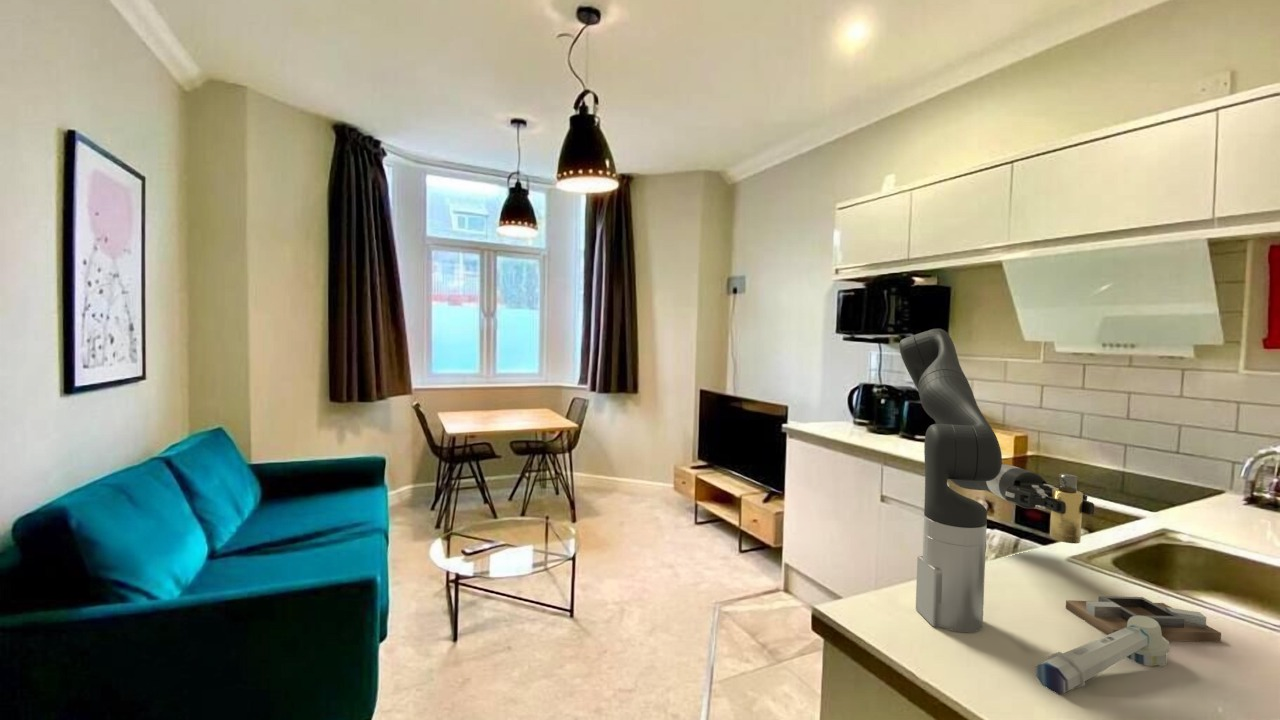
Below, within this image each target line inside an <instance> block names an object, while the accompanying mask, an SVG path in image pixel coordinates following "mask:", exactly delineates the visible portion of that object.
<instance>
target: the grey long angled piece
mask: <svg viewBox="0 0 1280 720" xmlns="http://www.w3.org/2000/svg"><path fill="white" fill-rule="evenodd" d="M1170 646H1171V645H1170V641H1169V640H1166V639H1165V638H1164V637H1163V636H1162V633H1161V627H1160V625H1159V623H1158V622H1157V621H1156V620H1154V619H1152V618H1149V617H1146V616H1132V617H1131V618H1129V620H1128V622H1127V627H1126V628H1124V629H1121V630H1119V631H1116V632H1114V633H1111V634H1109V635H1104V636H1102V637H1100V638H1097V639H1094V640H1091V641H1090V642H1087V643H1085V644H1083V645H1080V646H1077V647H1075V648H1072V649H1070V650H1068V651H1065V652H1062V651H1058V652H1054V653H1053V654H1050V655H1048V659H1047V660H1045V661H1044V662H1041V663H1039V664H1037V665H1036V666H1035V677H1036V678H1037V680H1038V681H1039V682H1040V684H1041V685H1042V686H1043V687H1045V688H1046V687H1047V689H1048V690H1050V691H1052V692H1054V693H1055V692H1056V693H1055V694H1057V693H1058V694H1057V695H1061V694H1065V693H1067V692H1069V691H1070V690H1072V689H1074V690H1076V689H1079V688H1082V687H1085V686H1086V682H1087V681H1088V680H1090V679H1092V678H1093V677H1095V676H1096V675H1098V674H1099V673H1101V672H1104V671H1106V670H1107V669H1108V668H1110V667H1112V666H1114V665H1115V664H1117V663H1119V662H1120V661H1122V660H1124V659H1125V658H1128V659H1129V660H1131V661H1133V662H1135V663H1137V664H1140V665H1143V666H1147V667H1152V666H1158V667H1159V668H1162V667H1164V666H1166V665H1167V663H1168V662H1167V657H1168V656H1167V654H1170V651H1171V650H1170V648H1171V647H1170Z"/></svg>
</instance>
